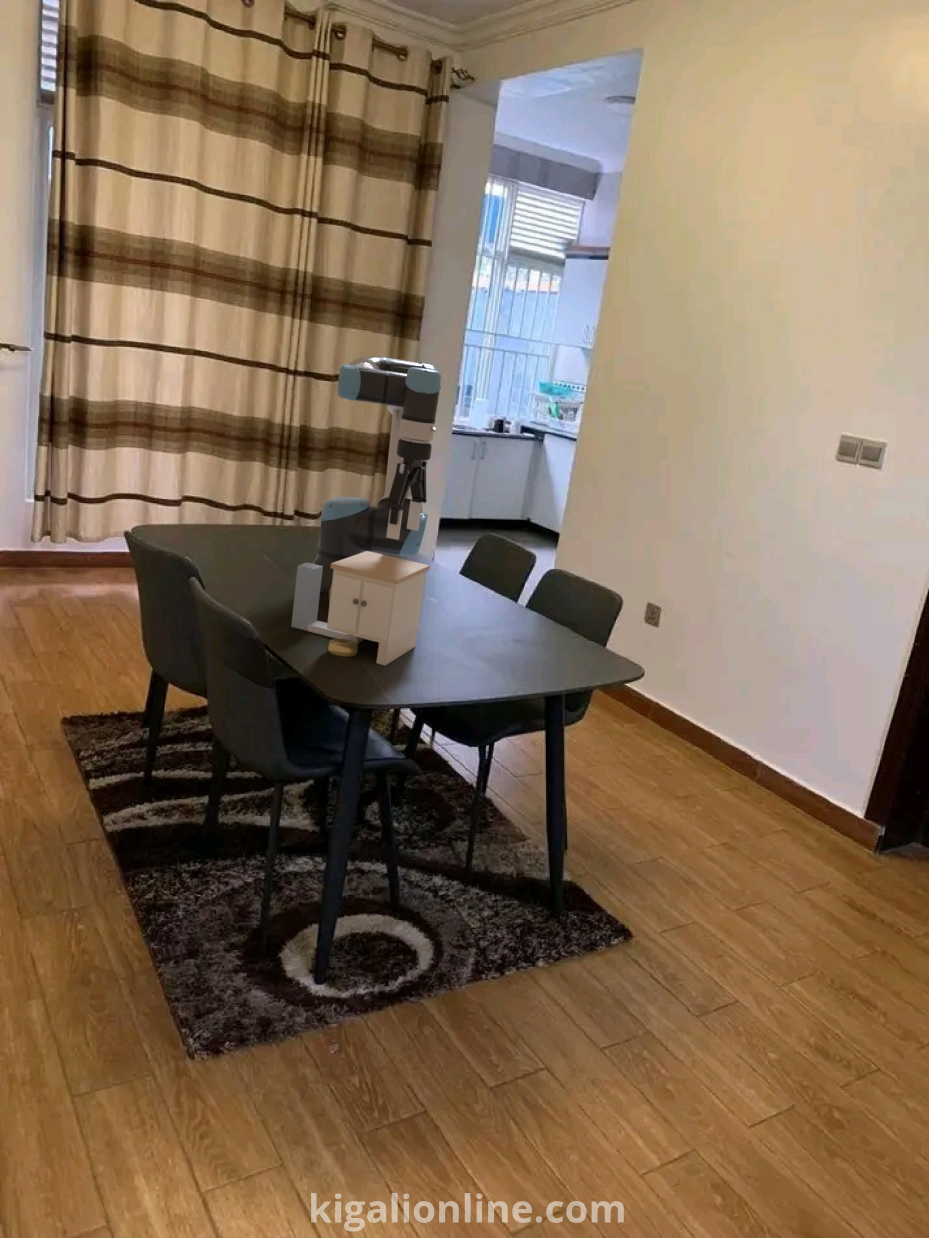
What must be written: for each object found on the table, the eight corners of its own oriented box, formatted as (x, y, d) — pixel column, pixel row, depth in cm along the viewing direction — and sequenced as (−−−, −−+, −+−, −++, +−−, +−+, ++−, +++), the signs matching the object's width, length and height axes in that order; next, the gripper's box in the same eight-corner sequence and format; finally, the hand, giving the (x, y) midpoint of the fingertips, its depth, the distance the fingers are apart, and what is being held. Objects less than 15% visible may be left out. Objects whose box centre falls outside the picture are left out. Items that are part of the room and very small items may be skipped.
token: (323, 652, 193) (324, 643, 193) (336, 645, 199) (337, 636, 198) (348, 659, 192) (350, 650, 191) (361, 652, 197) (362, 643, 197)
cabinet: (318, 650, 194) (328, 564, 188) (357, 630, 210) (367, 550, 205) (384, 668, 189) (396, 580, 184) (418, 646, 206) (429, 565, 201)
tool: (291, 626, 206) (297, 565, 202) (300, 622, 209) (306, 562, 205) (356, 643, 201) (364, 581, 197) (364, 639, 205) (372, 578, 201)
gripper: (413, 446, 194) (399, 545, 200) (447, 440, 217) (435, 529, 223) (379, 440, 196) (367, 538, 201) (417, 434, 219) (405, 523, 225)
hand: (402, 533), depth 212 cm, fingers open, 13 cm apart
